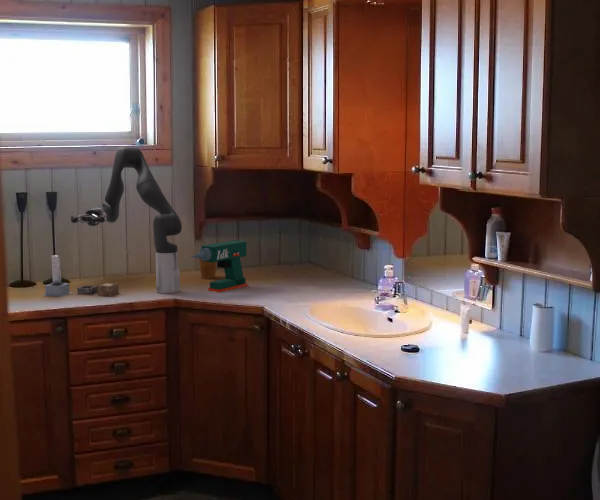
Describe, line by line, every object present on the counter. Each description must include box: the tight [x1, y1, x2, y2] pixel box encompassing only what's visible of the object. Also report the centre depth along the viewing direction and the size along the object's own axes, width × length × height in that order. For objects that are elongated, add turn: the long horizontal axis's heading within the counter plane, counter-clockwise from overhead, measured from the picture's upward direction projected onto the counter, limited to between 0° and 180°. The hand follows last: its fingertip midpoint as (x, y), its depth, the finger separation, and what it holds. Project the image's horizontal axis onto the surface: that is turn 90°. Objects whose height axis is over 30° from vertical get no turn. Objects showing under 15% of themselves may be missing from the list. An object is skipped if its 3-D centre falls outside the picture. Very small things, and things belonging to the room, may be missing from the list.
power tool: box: [191, 240, 248, 293], centre depth 350 cm, size 32×7×20 cm, turn 143°
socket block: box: [70, 282, 126, 298], centre depth 339 cm, size 21×9×5 cm, turn 75°
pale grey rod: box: [50, 254, 62, 286], centre depth 337 cm, size 3×3×16 cm
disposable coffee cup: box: [198, 258, 217, 280], centre depth 380 cm, size 10×10×12 cm
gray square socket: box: [41, 282, 74, 298], centre depth 338 cm, size 9×9×5 cm
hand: (83, 220), depth 347 cm, fingers open, 8 cm apart
